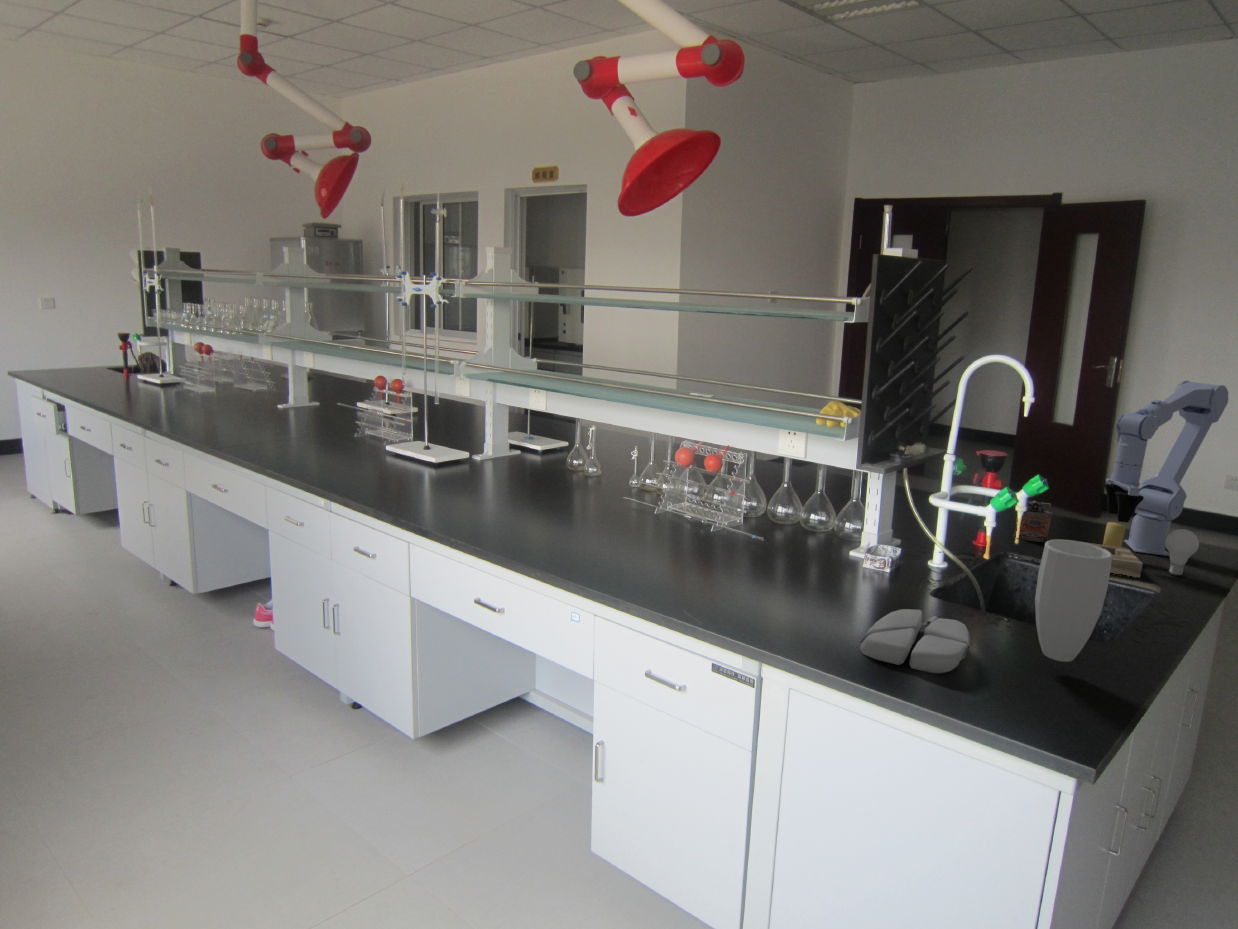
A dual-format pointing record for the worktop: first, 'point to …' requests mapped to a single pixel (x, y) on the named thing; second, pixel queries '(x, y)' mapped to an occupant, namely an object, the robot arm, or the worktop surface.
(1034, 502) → the lighter
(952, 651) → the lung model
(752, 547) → the worktop surface
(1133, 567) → the socket block
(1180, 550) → the lightbulb
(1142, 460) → the robot arm
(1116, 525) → the dowel
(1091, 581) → the cup
